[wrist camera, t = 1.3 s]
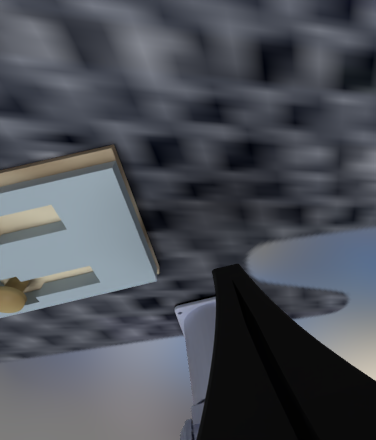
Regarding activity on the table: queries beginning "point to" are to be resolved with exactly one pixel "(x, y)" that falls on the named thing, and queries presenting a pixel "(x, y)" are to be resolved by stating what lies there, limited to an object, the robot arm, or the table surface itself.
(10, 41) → the table surface
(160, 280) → the table surface
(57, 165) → the board
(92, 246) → the panel
